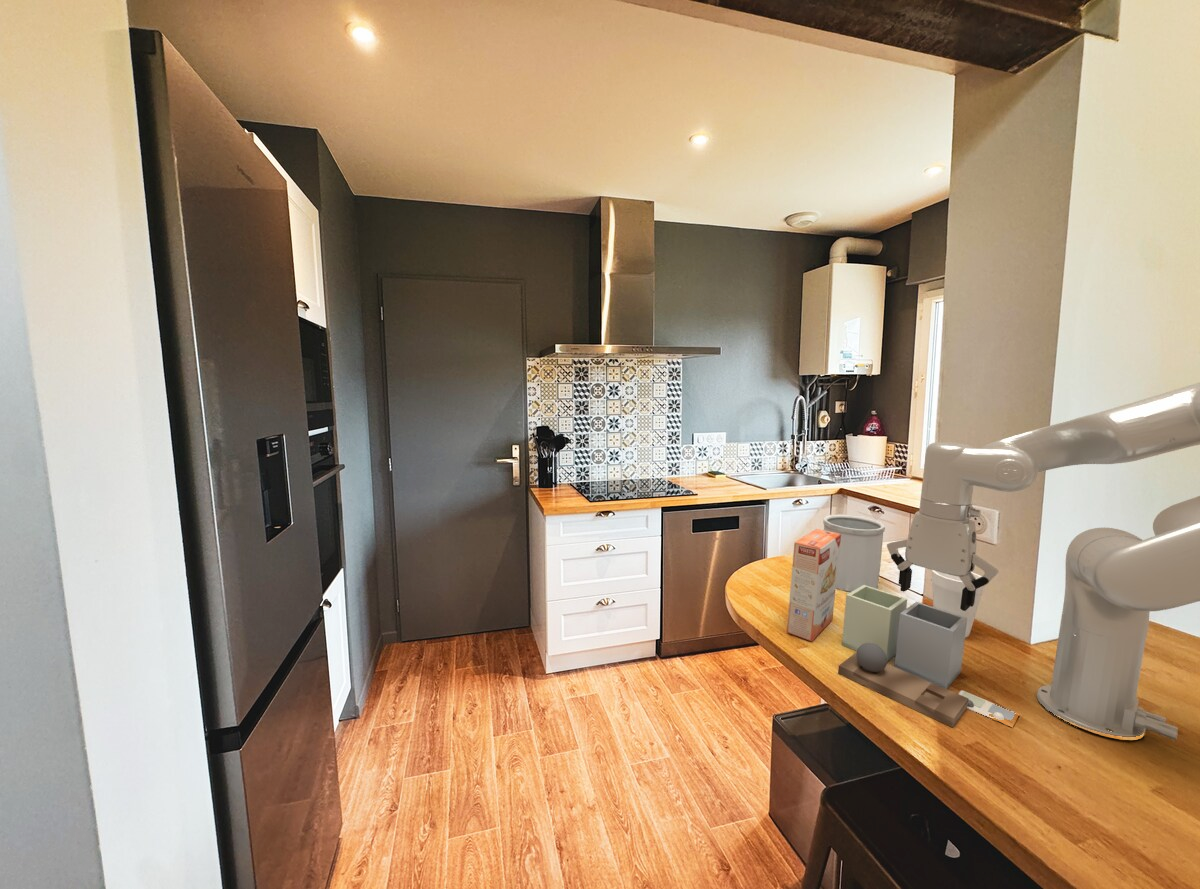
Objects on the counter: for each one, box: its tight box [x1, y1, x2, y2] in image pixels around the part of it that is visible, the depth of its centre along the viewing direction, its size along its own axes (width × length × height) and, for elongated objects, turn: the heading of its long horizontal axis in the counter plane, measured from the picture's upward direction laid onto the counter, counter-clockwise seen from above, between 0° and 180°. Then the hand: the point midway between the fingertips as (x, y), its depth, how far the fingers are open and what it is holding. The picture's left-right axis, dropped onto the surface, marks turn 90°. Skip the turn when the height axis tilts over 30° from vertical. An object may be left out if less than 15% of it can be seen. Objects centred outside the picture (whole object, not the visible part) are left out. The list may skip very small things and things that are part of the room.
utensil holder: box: [822, 514, 886, 593], centre depth 130 cm, size 15×15×18 cm
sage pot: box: [841, 585, 908, 663], centre depth 98 cm, size 8×8×11 cm
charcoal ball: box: [855, 643, 888, 672], centre depth 89 cm, size 5×5×5 cm
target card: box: [958, 689, 1017, 721], centre depth 80 cm, size 8×5×1 cm, turn 39°
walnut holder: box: [837, 652, 969, 728], centre depth 85 cm, size 18×8×2 cm, turn 39°
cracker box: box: [786, 528, 841, 643], centre depth 106 cm, size 14×6×21 cm, turn 137°
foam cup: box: [930, 570, 985, 639], centre depth 106 cm, size 10×9×13 cm
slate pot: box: [894, 601, 967, 689], centre depth 91 cm, size 8×8×11 cm
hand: (933, 598), depth 89 cm, fingers open, 9 cm apart
